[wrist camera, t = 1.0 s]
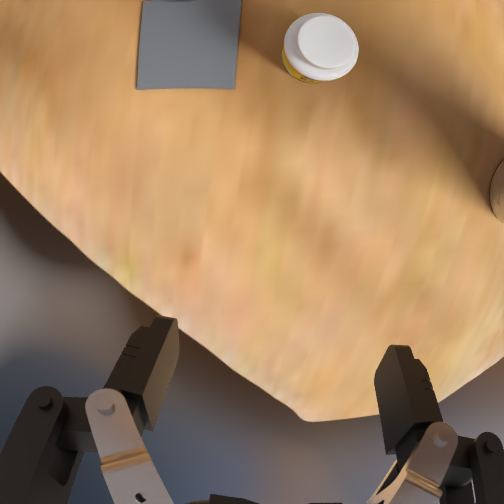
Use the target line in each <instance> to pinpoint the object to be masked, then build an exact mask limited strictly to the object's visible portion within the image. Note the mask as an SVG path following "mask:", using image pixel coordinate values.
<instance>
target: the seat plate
mask: <svg viewBox="0 0 504 504" xmlns="http://www.w3.org/2000/svg"><path fill="white" fill-rule="evenodd" d="M241 5H242V0H197V1H190V2H168V1H162V0H151V1H144V2H143V10H142V20H141V31H140V44H139V59H138V79H137V90H142V89H166V88H217V89H235V80H236V66H237V53H238V40H239V28H240V16H241Z"/></svg>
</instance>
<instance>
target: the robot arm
mask: <svg viewBox="0 0 504 504" xmlns="http://www.w3.org/2000/svg"><path fill="white" fill-rule="evenodd" d="M490 202H491V207H492V210H493V212H494V214H495V216H496V217H497V218H498V219H499V220H500V221H501V222H503V223H504V161H503V162H502V163H501V164H500V165H499V167H498V168H497V170H496V172H495V174H494V176H493V179H492V183H491V188H490ZM178 336H179V335H178V322H177V319H176V318H170V317H165V316H159V315H157V316H156V317H155V318H154V320H153V322H152V324H151V326H150V328H149V327H144V326H141V327H140V328H139V329H137V330H136V331H135V332H134V333H133V334H132V335H131V336H130V338H129V340H128V342H127V344H126V347H125V348H124V350H123V351H122V355H120V357H119V359H118V361H117V363H116V365H115V367H114V369H113V371H112V373H111V375H110V377H109V379H108V381H107V382H106V384H105V386H104V388H103V389H100V390H97V391H95V392H93V393H92V394H91V395H90V396H89V397H84V398H78V397H62V395H61V393H60V392H59V391H58V390H57V389H55V388H53V387H50V386H44V387H39V388H37V389H36V390H34V391H33V392H32V393H31V394H30V396H29V397H28V399H27V401H26V403H25V405H24V407H23V409H22V411H21V413H20V415H19V416H18V418H17V421H16V423H15V424H14V426H13V429H12V431H11V433H10V435H9V437H8V439H7V441H6V443H5V446H4V448H3V450H2V452H1V454H0V504H67V503H68V500H69V497H70V493H71V490H72V487H73V484H74V481H75V478H76V475H77V472H78V469H79V466H80V463H81V460H82V457H83V455H84V452H99V455H100V458H101V469H102V472H103V475H104V478H105V480H106V483H107V486H108V488H109V491H110V493H111V495H112V498H113V501H114V503H115V504H174V503H173V502H172V500H171V498H170V496H169V494H168V492H167V490H166V488H165V487H164V485H163V483H162V481H161V479H160V477H159V475H158V473H157V471H156V469H155V467H154V465H153V462H152V460H151V458H150V456H149V454H148V452H147V450H146V448H145V446H144V444H143V441H142V439H141V437H142V434H143V431H144V429H146V430H150V431H153V429H154V427H155V424H156V421H157V418H158V415H159V412H160V409H161V406H162V404H163V401H164V398H165V395H166V392H167V389H168V386H169V384H170V381H171V378H172V375H173V372H174V370H175V367H176V364H177V361H178V356H179V337H178ZM374 386H375V391H376V396H377V402H378V407H379V413H380V419H381V425H382V431H383V438H384V444H385V450H386V455H389V454H396V456H397V460H396V461H395V462H394V464H393V465H392V467H391V469H390V470H389V472H388V473H387V475H386V476H385V478H384V479H383V481H382V482H381V484H380V485H379V487H378V488H377V490H376V491H375V493H374V494H373V495H372V497H371V498H370V499H369V500H368V501H367V502H366V503H365V504H438V502H440V504H504V449H503V446H502V443H501V441H500V439H499V438H498V437H497V436H496V435H495V434H493V433H491V432H484V433H482V434H480V435H479V436H478V437H477V438H476V439H472V438H467V437H462V436H458V435H457V433H456V431H455V430H454V428H453V427H452V426H450V425H449V424H447V423H444V422H443V419H442V416H441V413H440V409H439V406H438V402H437V399H436V396H435V393H434V390H433V387H432V384H431V382H430V378H429V375H428V372H427V369H426V368H425V366H424V365H423V364H422V362H421V361H420V360H419V359H414V356H413V353H412V350H411V348H410V347H409V346H407V345H390V346H389V347H388V349H387V351H386V353H385V355H384V357H383V359H382V360H381V362H380V364H379V366H378V368H377V370H376V373H375V378H374ZM472 480H473V484H474V491H475V497H476V503H474V496H473V490H472V483H471V481H472ZM186 504H258V503H255V502H252V501H249V500H246V499H242V498H235V497H227V496H221V495H215V494H211V495H210V500H200V501H194V502H190V503H186ZM310 504H342V503H310Z"/></svg>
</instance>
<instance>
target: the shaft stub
mask: <svg viewBox="0 0 504 504" xmlns="http://www.w3.org/2000/svg"><path fill="white" fill-rule="evenodd" d="M162 1H168V2H190V1H197V0H162Z"/></svg>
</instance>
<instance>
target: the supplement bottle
mask: <svg viewBox="0 0 504 504" xmlns="http://www.w3.org/2000/svg"><path fill="white" fill-rule="evenodd" d="M358 53H359V46H358V41H357V38H356V36H355V34H354V32H353V30H352V29H351V28H350V27H349V26H348V25H347V24H346V23H345V22H344V21H343V20H341V19H339V18H338V17H336V16H333V15H330V14H326V13H310V14H307V15H304V16H302V17H300V18H298V19H297V20H295V21H294V22H293V23H292V24H291V25H290V27H289V28H288V30H287V32H286V35H285V38H284V44H283V49H282V59H283V63H284V66H285V68H286V69H287V71H288V72H289V73H290V74H291V75H292V76H293V77H295V78H296V79H298V80H300V81H302V82H306V83H321V82H327V81H331V80H335V79H338V78H340V77H342V76H344V75H346V74H347V73H348V72H349V71H350V70H351V69H352V68H353V67H354V65H355V63H356V61H357V58H358Z"/></svg>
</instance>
